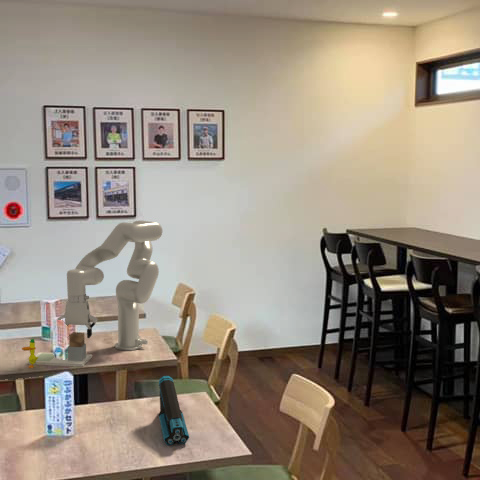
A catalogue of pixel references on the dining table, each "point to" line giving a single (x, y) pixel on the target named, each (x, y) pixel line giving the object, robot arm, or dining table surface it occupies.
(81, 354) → the pedestal
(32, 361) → the toy figure
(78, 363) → the build plate
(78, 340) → the walnut cube
